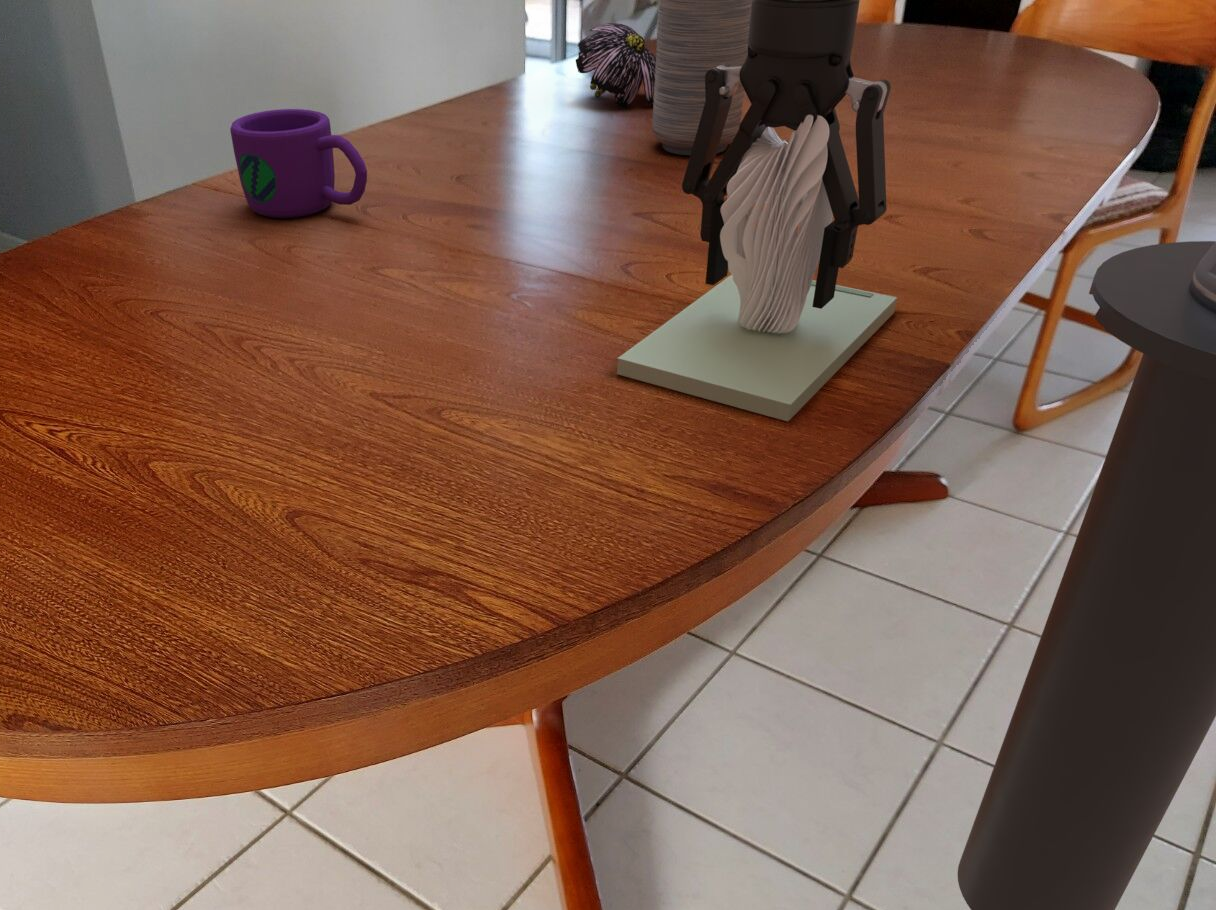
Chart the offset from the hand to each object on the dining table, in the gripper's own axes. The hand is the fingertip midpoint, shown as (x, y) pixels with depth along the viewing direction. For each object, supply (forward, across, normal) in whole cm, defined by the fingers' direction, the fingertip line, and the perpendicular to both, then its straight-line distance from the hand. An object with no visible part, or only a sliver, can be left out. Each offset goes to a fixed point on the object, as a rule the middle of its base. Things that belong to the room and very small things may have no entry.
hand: (768, 290), depth 87 cm
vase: (+5, +33, -52) cm, 62 cm away
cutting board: (+5, 0, 0) cm, 5 cm away
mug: (+5, +60, -6) cm, 61 cm away
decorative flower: (+5, +55, -70) cm, 89 cm away
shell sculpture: (+3, 0, 0) cm, 3 cm away
